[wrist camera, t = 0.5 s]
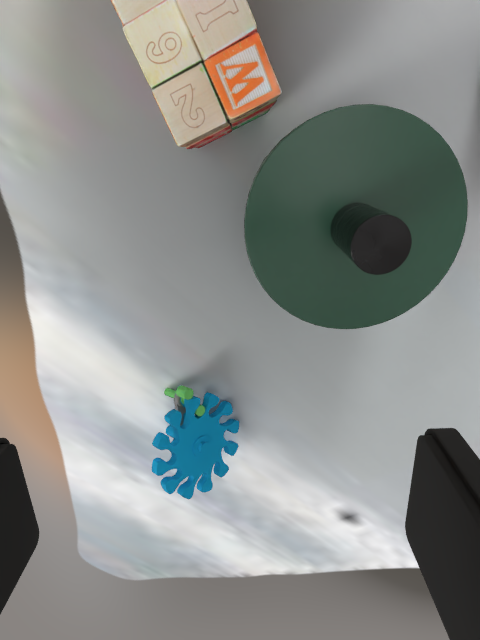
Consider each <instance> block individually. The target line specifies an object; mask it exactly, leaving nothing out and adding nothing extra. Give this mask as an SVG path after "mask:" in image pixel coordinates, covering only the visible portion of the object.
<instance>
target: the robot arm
mask: <svg viewBox="0 0 480 640" xmlns="http://www.w3.org/2000/svg"><path fill="white" fill-rule="evenodd" d="M405 528H406V535H407V539H408V541H409V544H410V546H411V549H412V551H413V553H414V556H415V558H416V560H417V563H418V565H419V568H420V570H421V572H422V575H423V577H424V579H425V581H426V584H427V586H428V589H429V591H430V594H431V596H432V598H433V600H434V603H435V605H436V608H437V610H438V612H439V615H440V617H441V620H442V622H443V624H444V627H445V629H446V631H447V634H448V636H449V639H450V640H480V459H479V458H478V457H477V455H476V454H475V453H474V451H473V450H472V449H471V448H470V446H469V445H468V444H467V442H466V441H465V440H464V438H463V437H462V436H461V435H460V433H459V432H458V431H457V430H456V429H454V428H439V429H427V431H426V432H425V435H421V436H419V437H418V440H417V447H416V454H415V461H414V467H413V474H412V481H411V488H410V495H409V502H408V508H407V515H406V523H405ZM38 539H39V528H38V524H37V521H36V517H35V513H34V510H33V506H32V503H31V499H30V495H29V492H28V488H27V485H26V481H25V478H24V474H23V470H22V466H21V463H20V460H19V456H18V452H17V449H16V447H15V446H14V445H13V444H10V443H9V441H8V440H7V439H6V438H0V614H1V612H2V610H3V608H4V606H5V605H6V603H7V601H8V599H9V597H10V595H11V593H12V591H13V589H14V588H15V586H16V584H17V582H18V580H19V578H20V576H21V574H22V572H23V570H24V569H25V567H26V565H27V563H28V561H29V559H30V557H31V555H32V554H33V552H34V550H35V548H36V545H37V543H38Z"/></svg>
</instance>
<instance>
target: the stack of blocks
mask: <svg viewBox="0 0 480 640" xmlns="http://www.w3.org/2000/svg"><path fill="white" fill-rule="evenodd" d="M111 2H112V4H113V6H114V8H115V10H116V12H117V14H118V16H119V18H120V20H121V22H122V24H123V32H124V34H125V36H126V38H127V40H128V42H129V44H130V46H131V48H132V50H133V52H134V54H135V56H136V58H137V60H138V63H139V65H140V67H141V69H142V71H143V73H144V75H145V77H146V79H147V82H148V84H149V85H150V87H151V88H152V92H153V96H154V98H155V100H156V102H157V104H158V106H159V108H160V110H161V112H162V115H163V117H164V119H165V121H166V123H167V125H168V127H169V129H170V132H171V134H172V136H173V138H174V140H175V142H176V144H177V145H178V146H179V147H186V149H192V148H200V147H202V146H204V145H206V144H208V143H210V142H212V141H214V140H216V139H218V138H220V137H222V136H224V135H226V134H227V133H230V132H231V131H232V130H234V129H236V128H238V127H240V126H242V125H244V124H246V123H248V122H250V121H252V120H254V119H256V118H258V117H260V116H262V115H264V114H266V113H267V112H268V111H269V110H270V108H271V107H272V106H273V105H274V104H275V103H276V101H277V98H278V97H279V96H280V94H281V92H282V91H281V89H280V86H279V83H278V81H277V78H276V76H275V73H274V71H273V68H272V66H271V63H270V61H269V58H268V56H267V53H266V50H265V48H264V45H263V43H262V40H261V38H260V35H259V34H258V32H257V25H256V22H255V20H254V17H253V15H252V12H251V10H250V7H249V5H248V3H247V0H111Z"/></svg>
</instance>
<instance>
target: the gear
mask: <svg viewBox="0 0 480 640" xmlns="http://www.w3.org/2000/svg"><path fill="white" fill-rule="evenodd" d="M164 393H165V395H167V396H169V397H172V398H174V402H175V409H176V410H175V409H173V410H171V411H170V412H168V413H167V414H166V415H165V421H166V422H168V423H169V424H170V426H168V427H167V428H166V434H167V435H169V436H171V437H173V438H174V440H173V441H172V442H171V443H170V440H169V437H168V436H167V435H165V434H163V433H161V432H159V433H158V434H157V435H156V437H155V438H154V440H153V443H152V444H153V446H155V447H156V448H158V449H160V450H164V449H168V450H169V451H170V452H171V453H172V457H171V459H170V460H169V461H168V462H165V461H164V460H162V459H161V458H155V459H154V460H153V463H152V472H153V473H155V474H156V475H158V476H160V475H163V474H164V473H165V472H167V471H168V470H171V469H177V472H176V474H175V475H174V476H172V477H165V478H163V479H162V480H161V486H162V488H163V489H164V491H166V492H167V493H169V494H172V493H173V492H174V491H175V489H176V488H177V486H178V484H179V483H180V482H181V481H182V480H183V479H185V478H186V477H188V476H189V477H188V480H187V481H186V482H185V483H183V484H182V485H180V486H179V488H178V490H177V492H178V494H180V495H181V496H183V497H184V498H187V499H190V498H191V497H192V496H193V492H194V487H195V484H196V482H197V480H198V479H199V477H200V476H201V475H202V477H201V478H200V480H199V481H198V483H197V489H198V490H200V491H201V492H208V491H210V490H211V489H212V486H213V484H212V481H211V472H212V468H213V465H214V464H215V466H214V473H215V474H216V475H218V476H220V477H223V476H224V475H225V474H226V473H227V472H228V470H229V467H228V466H227V465H226V464H225V463H224V462H223V460H222V456H221V451H222V448H223V447H224V451H225V452H226V453H227V454H229V455H231V456H234V454H235V453H236V451H237V448H238V444H237V443H235V442H233V441H226V440H225V439H224V432H225V431H226V430H227V431H230V432H232V433H237V432H238V430H239V421H237V420H235V419H229V420H228V421H226V422H225V423H219V419H220V417H221V416H222V415H227V416H228V415H230V414H232V412H233V409H232V406H231V404H230V402H227V401H222V402H221V403H220V405H219V406H218V408H217V409H216V410H215V411H214V412H213V413H211V414H209V410H210V409H211V408H212V407H214V406H216V405H217V404H218V402H219V398H218V397H217V396H216V395H214V394H211V393H208V392H207V393H206V394H205V396H204V400H203V404H202V405H200V398H197V397H195V396H193V390H192V389H190V388H188V387H185V386H182V385H181V386H179V387H178V388H177V389H176V391H175V390H172V389H170V388H166V389H165V391H164ZM194 414H195V415H194Z"/></svg>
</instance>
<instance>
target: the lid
mask: <svg viewBox="0 0 480 640" xmlns="http://www.w3.org/2000/svg"><path fill="white" fill-rule="evenodd" d="M467 205H468V201H467V191H466V185H465V181H464V177H463V173H462V170H461V168H460V165H459V163H458V160H457V158H456V156H455V155H454V153H453V151H452V150H451V148H450V146H449V145H448V144H447V143H446V141H445V140H444V139H443V138H442V136H441V135H440V134H439V133H438V132H437V131H435V130H434V129H433V128H432V127H431V126H430V125H429V124H427V123H426V122H424V121H423V120H421V119H419V118H418V117H416V116H414V115H412V114H410V113H407V112H405V111H403V110H400V109H396V108H393V107H389V106H383V105H374V104H362V105H351V106H345V107H340V108H336V109H333V110H330V111H327V112H324V113H322V114H320V115H318V116H316V117H314V118H311V119H309V120H307V121H306V122H304V123H303V124H301V125H300V126H298V127H297V128H295V129H293V130H292V131H291V132H290V133H289V134H288V135H286V136H285V137H284V138H283V139H282V140H281V141H280V142H279V143H278V144H277V145H276V146H275V147H274V149H273V150H272V151H271V152H270V153H269V155H268V156H267V158H266V159H265V161H264V162H263V163H262V165H261V167H260V169H259V171H258V173H257V174H256V176H255V178H254V181H253V184H252V186H251V189H250V192H249V195H248V200H247V204H246V210H245V220H244V228H245V243H246V249H247V254H248V257H249V260H250V264H251V266H252V268H253V271H254V273H255V275H256V277H257V279H258V281H259V282H260V284H261V285H262V287H263V288H264V290H265V291H266V292H267V293H268V295H269V296H270V297H271V298H272V299H273V300H274V301H275V302H276V303H277V304H278V305H279V306H280V307H282V308H283V309H285V310H286V311H287V312H289V313H290V314H292V315H294V316H296V317H297V318H299V319H301V320H303V321H306V322H309V323H312V324H314V325H318V326H323V327H327V328H336V329H356V328H363V327H369V326H373V325H376V324H380V323H383V322H385V321H388V320H391V319H393V318H395V317H397V316H399V315H401V314H403V313H405V312H406V311H408V310H409V309H411V308H412V307H414V306H415V305H417V304H418V303H419V302H420V301H422V300H423V299H424V298H425V297H426V296H427V295H429V294H430V293H431V291H432V290H433V289H434V288H435V287H436V286H437V285H438V284H439V283H440V281H441V280H442V279H443V277H444V276H445V275H446V273H447V272H448V270H449V268H450V267H451V265H452V263H453V261H454V260H455V257H456V255H457V253H458V250H459V248H460V246H461V242H462V239H463V236H464V232H465V227H466V221H467Z"/></svg>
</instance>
